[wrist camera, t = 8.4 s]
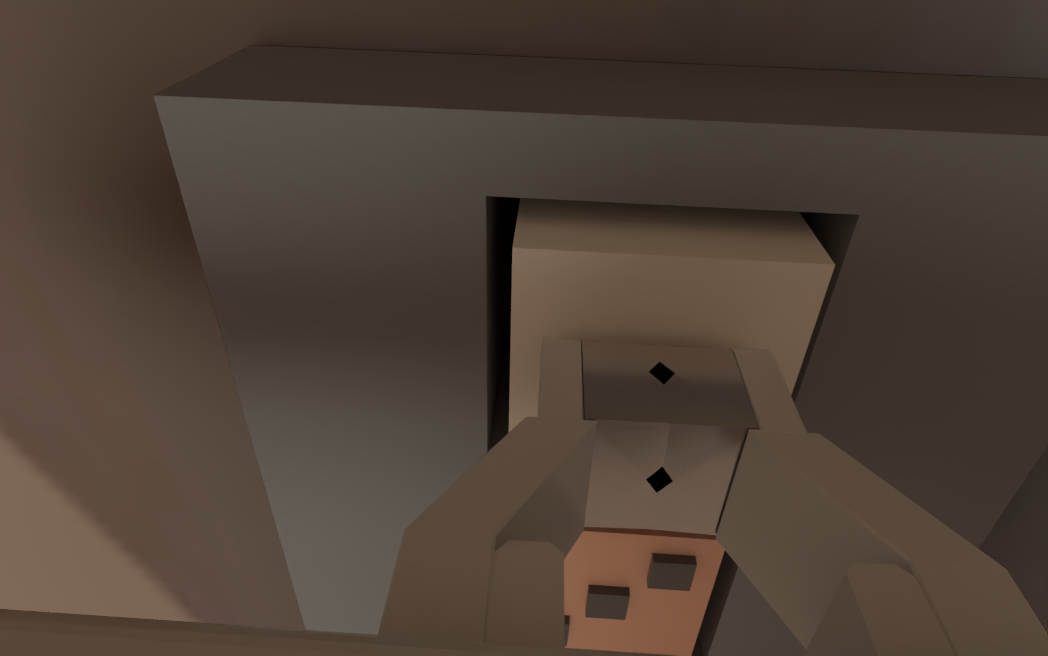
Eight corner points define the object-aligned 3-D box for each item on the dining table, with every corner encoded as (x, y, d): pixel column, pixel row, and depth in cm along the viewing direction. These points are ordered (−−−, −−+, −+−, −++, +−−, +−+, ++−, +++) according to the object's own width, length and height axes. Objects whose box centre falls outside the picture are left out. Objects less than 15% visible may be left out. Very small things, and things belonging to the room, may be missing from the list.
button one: (783, 189, 10) (841, 272, 8) (730, 390, 12) (763, 497, 10) (524, 176, 10) (511, 254, 8) (518, 377, 12) (506, 480, 10)
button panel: (1081, 80, 10) (1247, 145, 8) (777, 700, 21) (805, 810, 18) (251, 44, 11) (152, 95, 8) (373, 670, 21) (346, 773, 19)
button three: (705, 446, 14) (730, 549, 12) (675, 563, 16) (691, 668, 14) (517, 435, 14) (508, 535, 12) (513, 552, 16) (505, 654, 14)
